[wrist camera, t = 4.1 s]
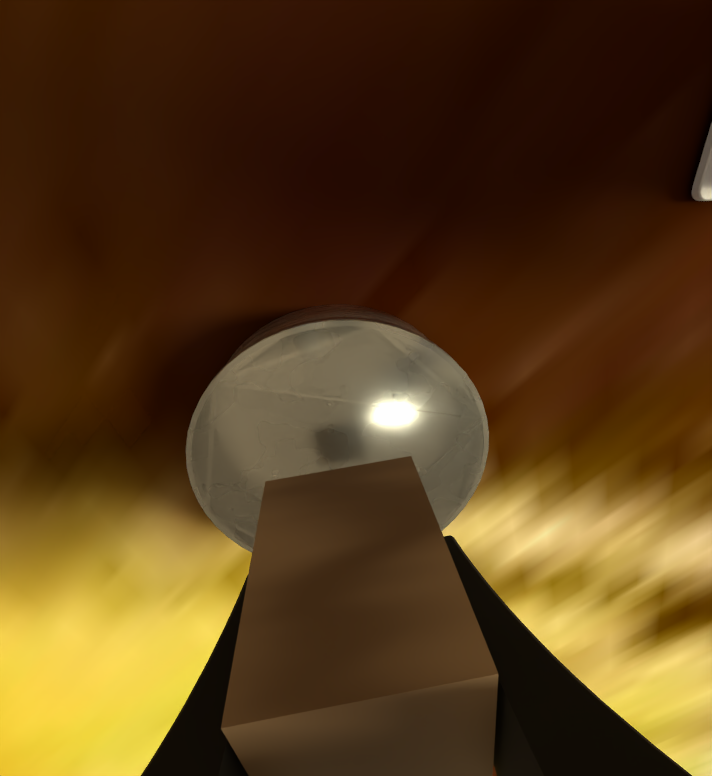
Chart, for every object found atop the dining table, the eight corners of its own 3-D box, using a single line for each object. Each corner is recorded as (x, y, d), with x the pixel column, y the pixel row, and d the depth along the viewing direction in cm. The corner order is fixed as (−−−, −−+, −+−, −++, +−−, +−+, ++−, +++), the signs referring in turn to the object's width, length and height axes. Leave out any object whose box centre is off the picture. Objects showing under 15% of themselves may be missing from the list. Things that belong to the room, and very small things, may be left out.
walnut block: (411, 455, 11) (498, 673, 6) (419, 557, 13) (491, 791, 8) (265, 481, 11) (220, 728, 6) (295, 580, 13) (283, 833, 8)
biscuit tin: (468, 287, 16) (504, 305, 13) (452, 502, 22) (476, 552, 19) (177, 311, 15) (143, 337, 12) (237, 529, 21) (223, 585, 18)
